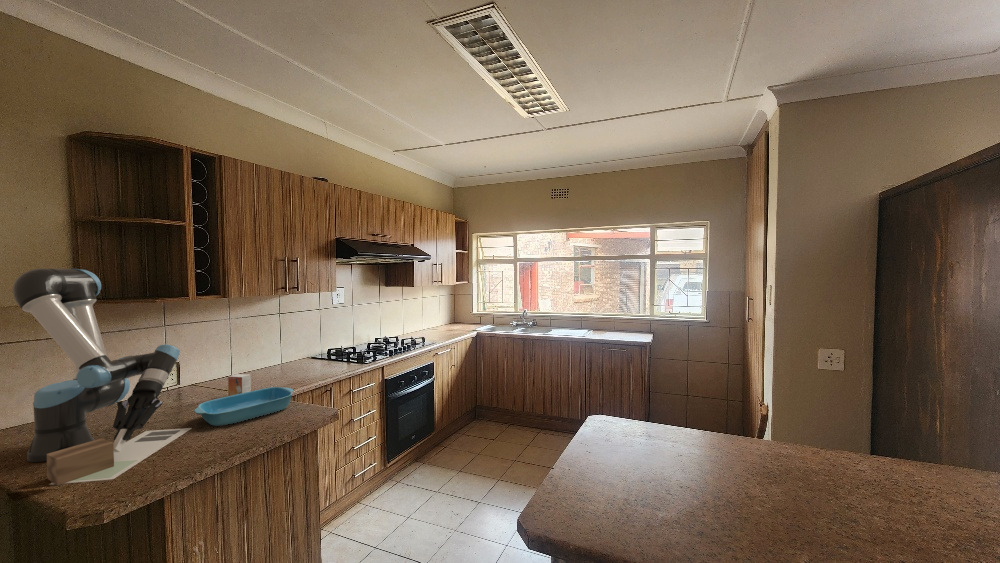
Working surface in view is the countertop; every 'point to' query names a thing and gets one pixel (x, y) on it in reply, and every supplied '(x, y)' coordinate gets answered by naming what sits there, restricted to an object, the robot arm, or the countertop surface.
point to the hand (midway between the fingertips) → (115, 450)
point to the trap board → (134, 453)
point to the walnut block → (79, 461)
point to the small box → (239, 384)
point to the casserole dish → (244, 405)
